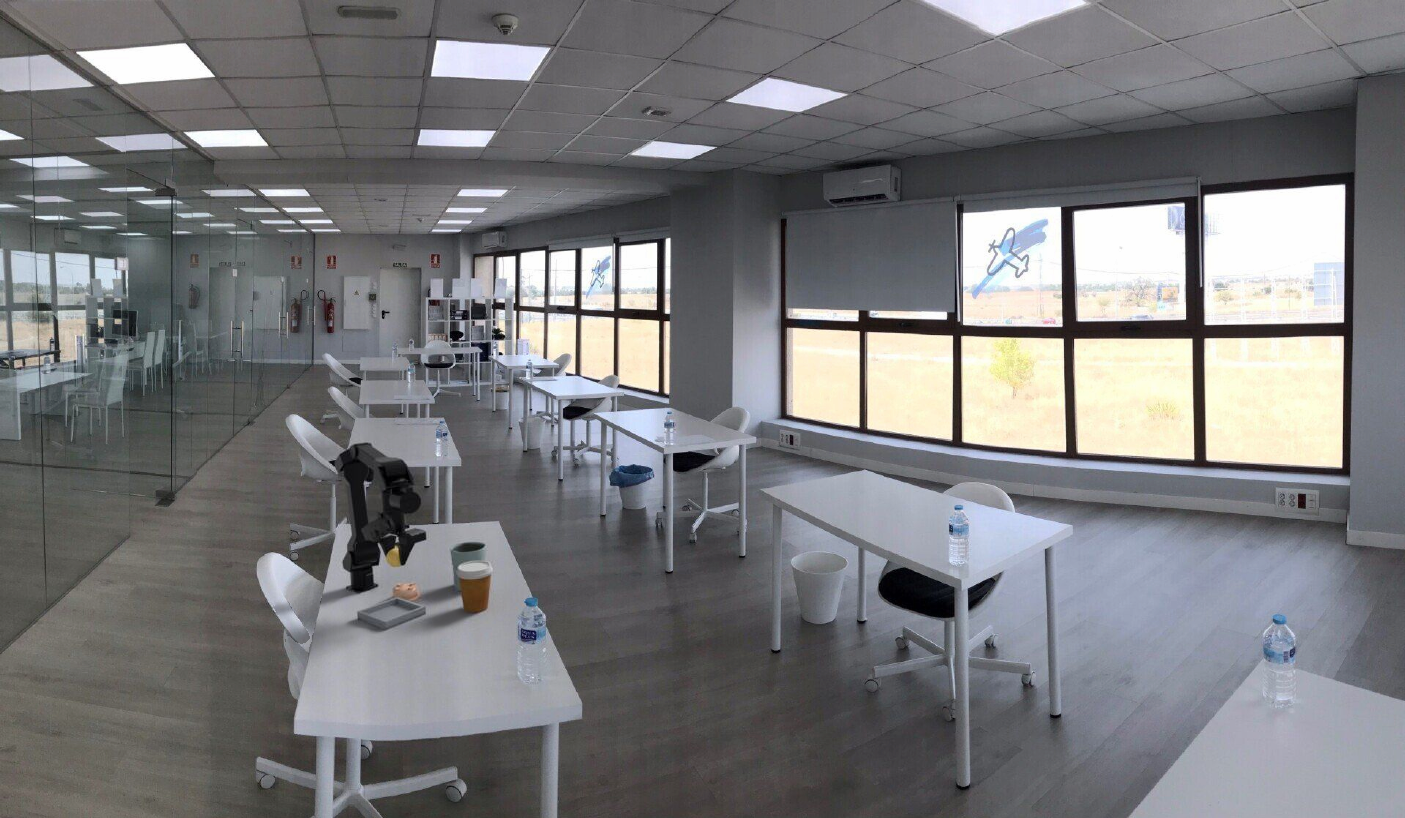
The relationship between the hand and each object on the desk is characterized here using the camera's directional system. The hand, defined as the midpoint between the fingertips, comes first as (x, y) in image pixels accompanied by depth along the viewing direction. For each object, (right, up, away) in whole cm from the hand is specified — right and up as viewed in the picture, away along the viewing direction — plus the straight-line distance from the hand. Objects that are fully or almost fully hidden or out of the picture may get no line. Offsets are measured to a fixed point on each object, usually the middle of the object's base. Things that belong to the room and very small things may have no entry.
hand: (396, 563), depth 199 cm
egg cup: (-2, -12, +10) cm, 16 cm away
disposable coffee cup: (+20, -13, +4) cm, 24 cm away
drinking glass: (+13, -11, +20) cm, 26 cm away
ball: (0, -1, 0) cm, 1 cm away
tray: (0, -13, -3) cm, 14 cm away
